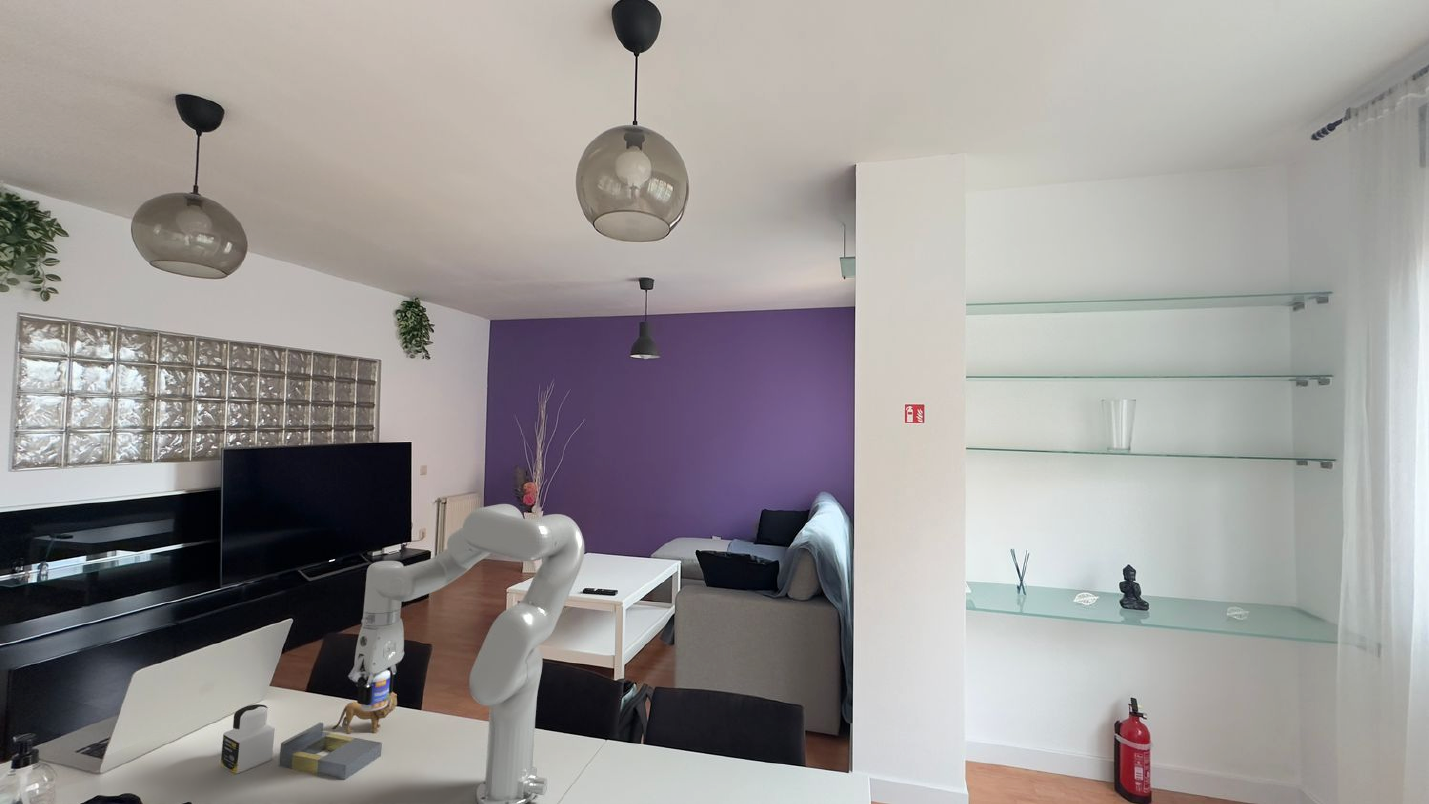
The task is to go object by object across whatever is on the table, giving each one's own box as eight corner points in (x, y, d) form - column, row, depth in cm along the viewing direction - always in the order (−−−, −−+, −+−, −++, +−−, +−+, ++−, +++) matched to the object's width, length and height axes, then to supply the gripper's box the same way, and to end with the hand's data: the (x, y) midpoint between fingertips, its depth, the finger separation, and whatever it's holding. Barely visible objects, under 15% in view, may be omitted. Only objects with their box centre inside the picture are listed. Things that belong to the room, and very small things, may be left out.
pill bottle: (375, 713, 130) (379, 668, 130) (354, 710, 131) (358, 665, 131) (393, 702, 135) (396, 659, 135) (373, 699, 136) (376, 656, 137)
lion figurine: (398, 722, 153) (400, 687, 154) (391, 732, 148) (394, 696, 148) (335, 726, 150) (338, 690, 150) (326, 737, 145) (329, 699, 145)
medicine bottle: (219, 765, 131) (224, 710, 132) (256, 750, 137) (261, 698, 138) (235, 774, 128) (240, 718, 128) (272, 759, 134) (277, 705, 135)
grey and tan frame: (380, 756, 137) (382, 734, 137) (345, 779, 127) (347, 755, 128) (318, 743, 141) (320, 722, 142) (279, 765, 132) (281, 742, 132)
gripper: (365, 630, 125) (357, 717, 124) (422, 608, 141) (416, 685, 140) (336, 626, 127) (328, 712, 125) (396, 605, 143) (390, 680, 142)
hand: (375, 697), depth 133 cm, fingers closed on pill bottle, 5 cm apart
